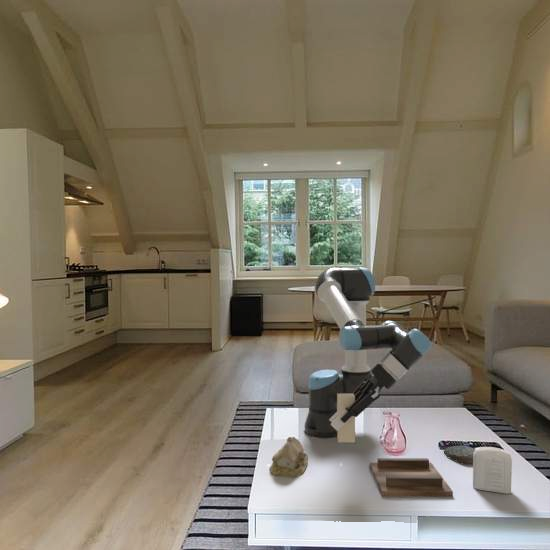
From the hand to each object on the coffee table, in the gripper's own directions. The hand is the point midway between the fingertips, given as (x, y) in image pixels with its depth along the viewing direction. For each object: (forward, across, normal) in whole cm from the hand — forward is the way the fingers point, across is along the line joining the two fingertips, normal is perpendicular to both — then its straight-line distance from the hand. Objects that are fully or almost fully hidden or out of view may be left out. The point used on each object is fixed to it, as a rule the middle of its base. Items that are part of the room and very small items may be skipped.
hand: (333, 425), depth 134 cm
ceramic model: (+22, +8, -3) cm, 24 cm away
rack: (-4, 0, -28) cm, 29 cm away
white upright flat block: (-20, -5, -45) cm, 49 cm away
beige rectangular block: (+1, 0, -6) cm, 6 cm away
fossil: (-20, +16, -46) cm, 53 cm away
